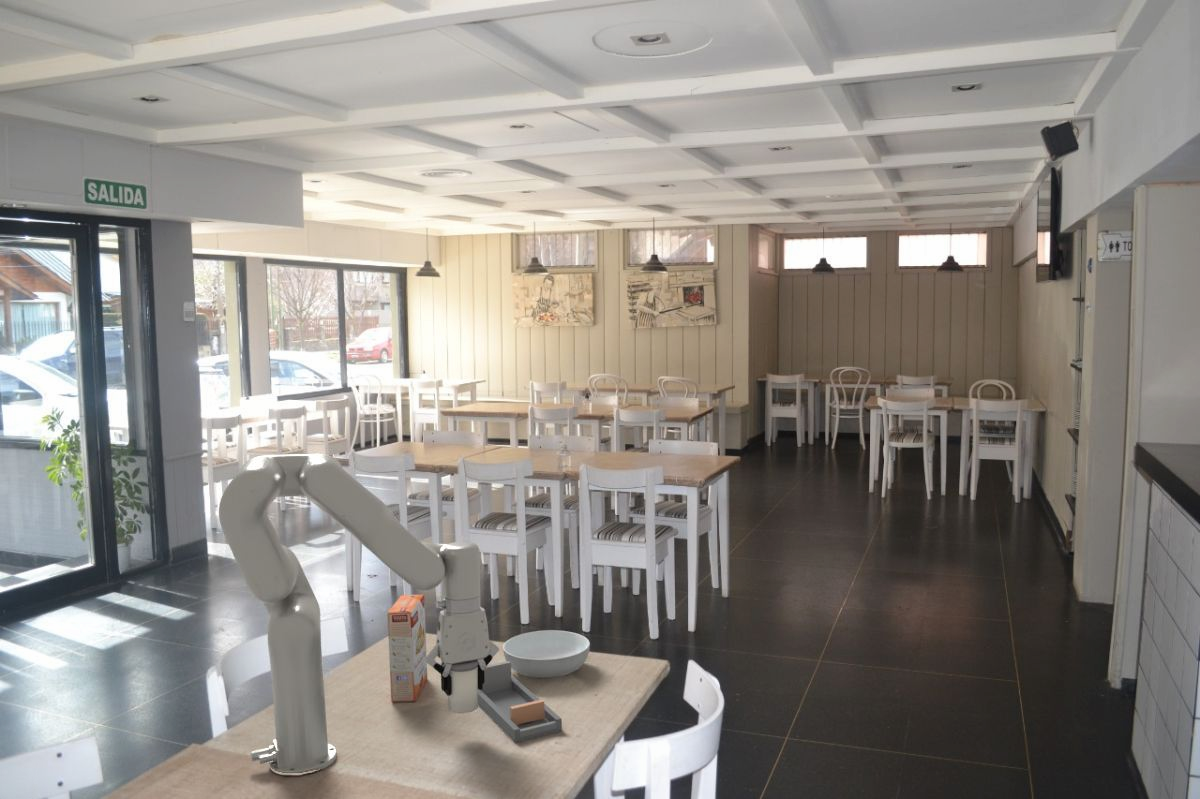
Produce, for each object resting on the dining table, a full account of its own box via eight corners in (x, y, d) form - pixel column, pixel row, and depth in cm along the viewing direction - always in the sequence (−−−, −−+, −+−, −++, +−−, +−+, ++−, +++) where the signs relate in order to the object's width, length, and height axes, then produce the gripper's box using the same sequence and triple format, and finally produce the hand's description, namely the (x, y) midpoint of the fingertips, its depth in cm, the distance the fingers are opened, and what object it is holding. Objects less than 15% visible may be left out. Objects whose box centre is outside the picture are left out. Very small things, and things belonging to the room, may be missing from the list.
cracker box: (417, 702, 210) (412, 611, 208) (390, 703, 210) (385, 612, 208) (429, 678, 224) (425, 593, 222) (404, 679, 224) (399, 594, 222)
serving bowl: (582, 689, 214) (581, 660, 213) (494, 687, 217) (492, 658, 217) (597, 656, 235) (596, 630, 234) (516, 655, 238) (514, 628, 237)
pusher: (512, 725, 193) (512, 708, 193) (503, 716, 198) (503, 700, 197) (544, 718, 196) (544, 701, 196) (535, 709, 201) (534, 693, 201)
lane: (514, 742, 188) (513, 709, 187) (472, 698, 211) (470, 669, 211) (562, 730, 193) (560, 698, 192) (515, 688, 216) (513, 659, 215)
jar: (453, 715, 187) (452, 667, 186) (444, 704, 193) (443, 658, 192) (482, 709, 190) (482, 662, 189) (472, 699, 195) (472, 653, 195)
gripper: (425, 614, 182) (427, 704, 184) (508, 602, 190) (509, 689, 192) (414, 604, 189) (416, 691, 190) (495, 593, 197) (496, 677, 198)
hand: (463, 689), depth 191 cm, fingers closed on jar, 6 cm apart
